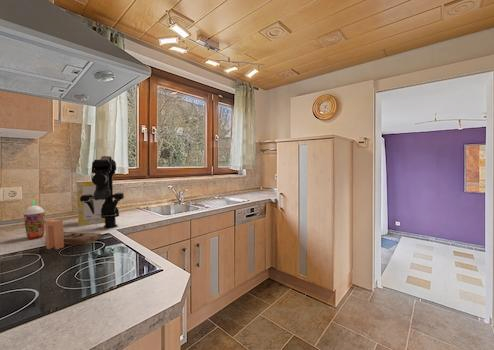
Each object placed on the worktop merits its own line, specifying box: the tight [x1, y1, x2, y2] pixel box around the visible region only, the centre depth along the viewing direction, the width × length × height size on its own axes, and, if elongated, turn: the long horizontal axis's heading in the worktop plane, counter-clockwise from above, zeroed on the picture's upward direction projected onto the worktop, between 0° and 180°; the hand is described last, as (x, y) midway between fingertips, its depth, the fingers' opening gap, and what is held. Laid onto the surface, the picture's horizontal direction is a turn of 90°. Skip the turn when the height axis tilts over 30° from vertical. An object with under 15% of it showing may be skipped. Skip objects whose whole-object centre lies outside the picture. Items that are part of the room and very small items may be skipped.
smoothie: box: [23, 199, 46, 240], centre depth 119 cm, size 8×8×20 cm
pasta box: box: [75, 179, 105, 227], centre depth 150 cm, size 18×10×28 cm, turn 125°
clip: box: [44, 219, 65, 250], centre depth 105 cm, size 3×6×13 cm, turn 82°
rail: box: [63, 231, 102, 246], centre depth 115 cm, size 10×22×2 cm, turn 82°
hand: (103, 213), depth 118 cm, fingers open, 9 cm apart
